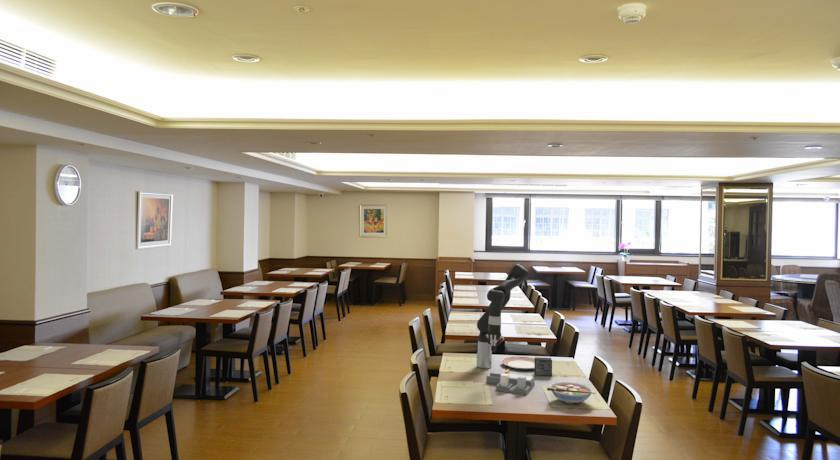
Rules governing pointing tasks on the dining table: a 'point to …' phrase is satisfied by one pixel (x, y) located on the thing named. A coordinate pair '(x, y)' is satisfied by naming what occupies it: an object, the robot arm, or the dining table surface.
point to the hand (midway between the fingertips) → (493, 351)
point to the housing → (511, 384)
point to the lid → (515, 376)
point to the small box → (543, 366)
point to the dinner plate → (519, 362)
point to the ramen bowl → (570, 391)
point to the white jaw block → (504, 380)
